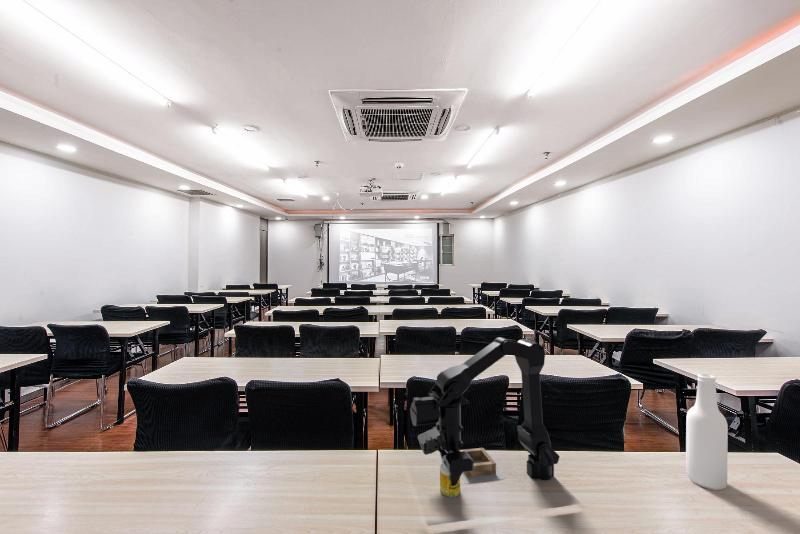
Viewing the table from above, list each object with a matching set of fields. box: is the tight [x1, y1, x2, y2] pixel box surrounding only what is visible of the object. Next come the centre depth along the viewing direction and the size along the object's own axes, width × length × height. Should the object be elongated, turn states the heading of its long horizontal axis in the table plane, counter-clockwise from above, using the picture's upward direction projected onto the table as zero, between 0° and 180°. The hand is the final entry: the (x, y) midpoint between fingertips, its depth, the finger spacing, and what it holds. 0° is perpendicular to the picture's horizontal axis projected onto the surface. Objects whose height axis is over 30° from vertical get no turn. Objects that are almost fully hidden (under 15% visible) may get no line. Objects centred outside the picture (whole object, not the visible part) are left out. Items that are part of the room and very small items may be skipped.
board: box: [460, 460, 506, 485], centre depth 105 cm, size 12×14×1 cm
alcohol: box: [685, 373, 729, 491], centre depth 99 cm, size 9×9×30 cm
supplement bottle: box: [439, 455, 461, 498], centre depth 94 cm, size 5×5×10 cm
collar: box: [459, 447, 497, 477], centre depth 105 cm, size 9×9×3 cm
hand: (450, 478), depth 94 cm, fingers closed on supplement bottle, 5 cm apart
